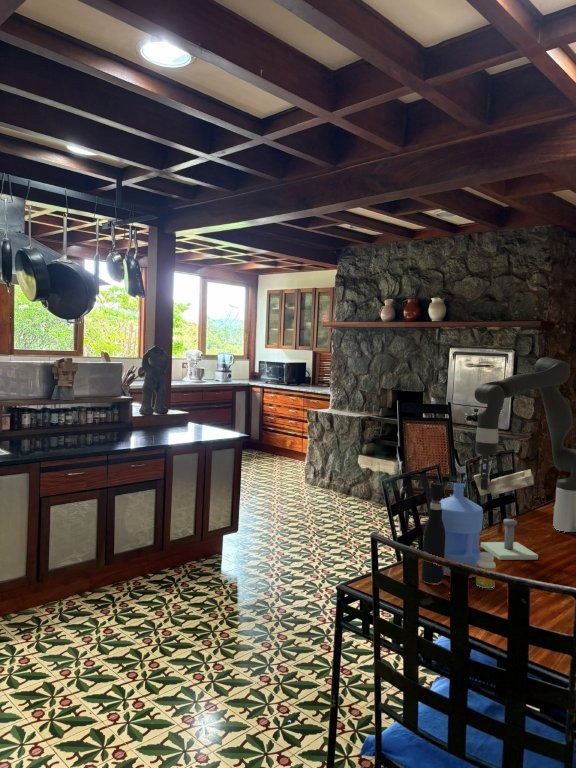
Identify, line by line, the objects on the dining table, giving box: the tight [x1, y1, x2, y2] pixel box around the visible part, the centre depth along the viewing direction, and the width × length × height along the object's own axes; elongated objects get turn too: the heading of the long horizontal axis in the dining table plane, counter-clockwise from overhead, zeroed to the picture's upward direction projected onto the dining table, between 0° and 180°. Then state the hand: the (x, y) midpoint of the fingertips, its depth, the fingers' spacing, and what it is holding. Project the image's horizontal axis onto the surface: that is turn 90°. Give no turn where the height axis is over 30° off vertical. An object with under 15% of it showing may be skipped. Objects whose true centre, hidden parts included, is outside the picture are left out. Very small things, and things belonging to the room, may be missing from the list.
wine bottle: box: [420, 481, 445, 583], centre depth 177 cm, size 6×6×30 cm
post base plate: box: [480, 518, 539, 561], centre depth 207 cm, size 14×14×12 cm
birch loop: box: [473, 469, 535, 496], centre depth 207 cm, size 18×14×7 cm
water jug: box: [440, 482, 484, 579], centre depth 187 cm, size 16×16×28 cm
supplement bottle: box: [475, 551, 497, 589], centre depth 175 cm, size 5×5×10 cm
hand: (484, 488), depth 210 cm, fingers closed on birch loop, 3 cm apart
